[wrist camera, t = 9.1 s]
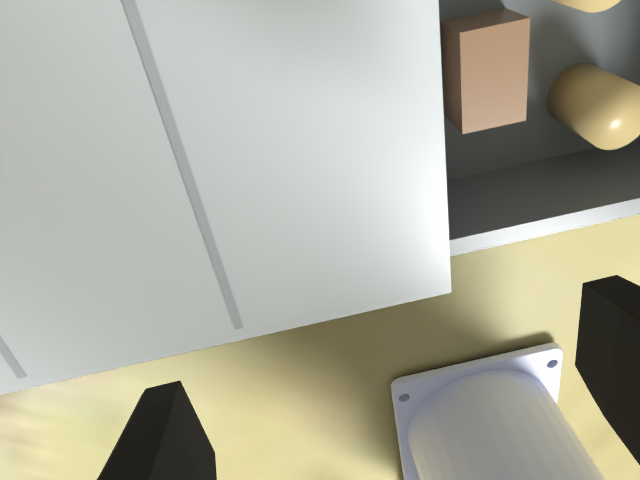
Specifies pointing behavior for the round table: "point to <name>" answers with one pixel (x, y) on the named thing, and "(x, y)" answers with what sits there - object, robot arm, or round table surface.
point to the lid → (211, 174)
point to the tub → (539, 116)
